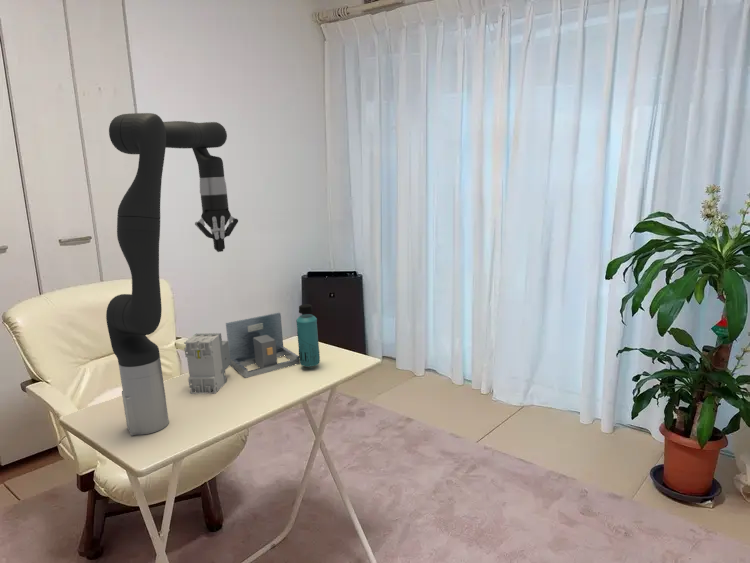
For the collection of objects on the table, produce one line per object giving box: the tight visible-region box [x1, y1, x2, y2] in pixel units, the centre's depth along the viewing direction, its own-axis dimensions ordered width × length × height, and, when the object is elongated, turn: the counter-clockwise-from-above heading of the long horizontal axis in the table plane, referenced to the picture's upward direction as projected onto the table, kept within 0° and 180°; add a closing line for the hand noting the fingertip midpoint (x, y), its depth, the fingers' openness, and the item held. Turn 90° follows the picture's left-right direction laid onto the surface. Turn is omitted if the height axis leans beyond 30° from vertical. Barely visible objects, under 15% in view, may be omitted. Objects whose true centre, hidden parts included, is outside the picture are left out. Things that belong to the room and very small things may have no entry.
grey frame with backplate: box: [225, 312, 301, 379], centre depth 170 cm, size 18×13×14 cm
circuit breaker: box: [183, 332, 230, 395], centre depth 157 cm, size 8×14×15 cm, turn 174°
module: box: [253, 335, 278, 368], centre depth 169 cm, size 4×8×9 cm, turn 33°
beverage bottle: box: [296, 303, 321, 367], centre depth 165 cm, size 6×7×20 cm
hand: (220, 251), depth 163 cm, fingers closed
